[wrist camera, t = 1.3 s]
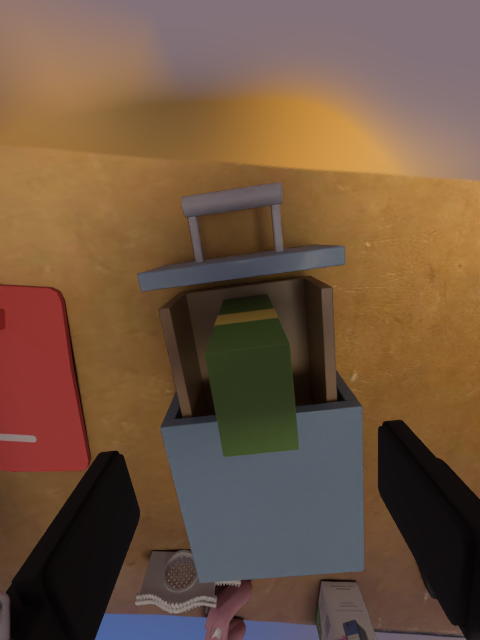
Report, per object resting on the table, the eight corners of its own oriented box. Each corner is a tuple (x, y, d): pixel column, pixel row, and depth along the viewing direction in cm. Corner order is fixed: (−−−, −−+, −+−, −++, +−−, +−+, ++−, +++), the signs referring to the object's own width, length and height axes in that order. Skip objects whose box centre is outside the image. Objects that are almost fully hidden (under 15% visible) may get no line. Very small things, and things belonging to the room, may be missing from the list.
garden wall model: (241, 551, 36) (240, 610, 30) (240, 561, 36) (240, 620, 30) (150, 548, 36) (132, 606, 30) (151, 558, 36) (133, 617, 31)
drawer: (154, 209, 23) (118, 197, 17) (313, 186, 23) (342, 163, 16) (196, 413, 29) (181, 464, 22) (325, 399, 28) (350, 448, 21)
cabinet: (184, 372, 29) (159, 427, 20) (326, 356, 28) (362, 406, 19) (210, 496, 33) (199, 583, 25) (333, 485, 32) (364, 571, 24)
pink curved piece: (226, 561, 38) (196, 618, 32) (255, 581, 36) (230, 646, 30) (220, 607, 41) (192, 668, 35) (247, 628, 39) (222, 696, 33)
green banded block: (222, 299, 24) (203, 352, 13) (268, 293, 24) (290, 342, 12) (232, 361, 26) (222, 458, 14) (274, 356, 26) (299, 450, 14)
